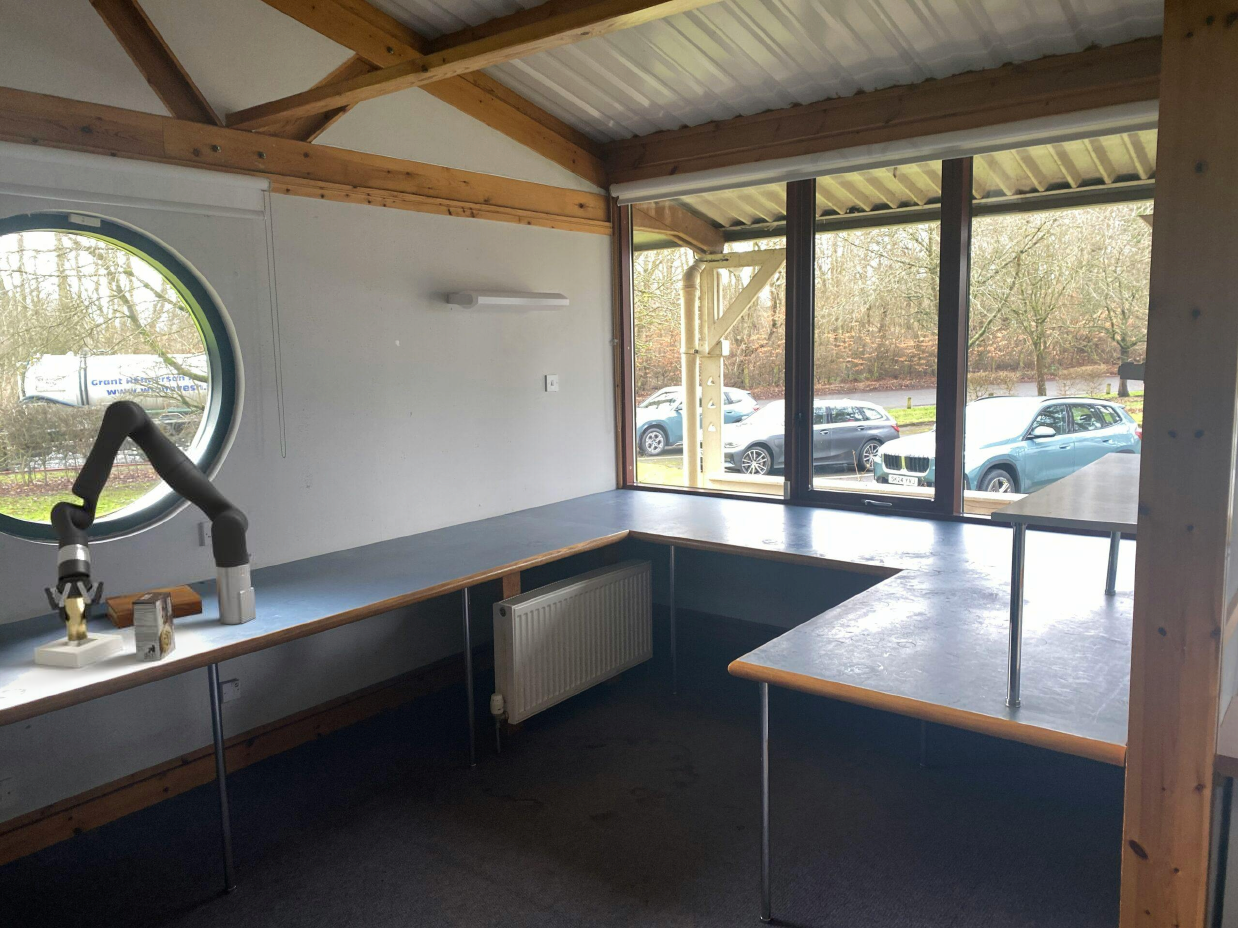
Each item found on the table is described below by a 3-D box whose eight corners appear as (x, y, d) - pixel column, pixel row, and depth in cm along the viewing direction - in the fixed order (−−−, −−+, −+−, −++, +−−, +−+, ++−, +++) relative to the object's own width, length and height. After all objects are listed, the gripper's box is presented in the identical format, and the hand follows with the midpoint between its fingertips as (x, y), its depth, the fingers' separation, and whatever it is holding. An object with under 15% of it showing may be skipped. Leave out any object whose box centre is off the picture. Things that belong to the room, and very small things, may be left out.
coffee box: (151, 649, 235) (147, 591, 233) (176, 648, 235) (171, 591, 233) (135, 661, 226) (130, 601, 224) (161, 660, 226) (156, 600, 224)
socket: (122, 649, 234) (121, 635, 234) (78, 668, 221) (77, 653, 221) (81, 645, 238) (80, 631, 238) (35, 663, 225) (34, 648, 224)
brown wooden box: (118, 631, 252) (116, 612, 252) (106, 616, 267) (105, 598, 266) (202, 614, 267) (201, 596, 266) (187, 601, 281) (186, 584, 280)
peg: (91, 636, 231) (88, 596, 229) (77, 641, 226) (73, 600, 225) (78, 634, 232) (74, 595, 230) (63, 640, 227) (60, 599, 226)
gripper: (41, 561, 229) (41, 617, 220) (103, 554, 236) (106, 608, 227) (44, 575, 234) (44, 631, 226) (105, 569, 242) (108, 622, 233)
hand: (75, 619), depth 227 cm, fingers closed on peg, 4 cm apart
